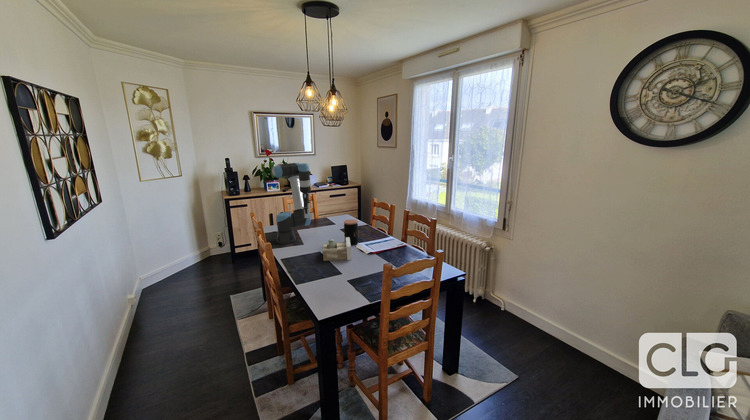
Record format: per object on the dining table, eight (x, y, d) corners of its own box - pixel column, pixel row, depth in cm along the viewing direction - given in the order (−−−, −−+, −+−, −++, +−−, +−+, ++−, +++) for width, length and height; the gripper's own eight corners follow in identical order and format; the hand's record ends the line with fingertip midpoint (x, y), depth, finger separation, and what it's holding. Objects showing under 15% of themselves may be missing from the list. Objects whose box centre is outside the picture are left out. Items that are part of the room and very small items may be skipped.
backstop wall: (346, 250, 214) (345, 237, 212) (350, 249, 215) (349, 237, 212) (347, 260, 197) (346, 246, 194) (351, 260, 197) (350, 246, 195)
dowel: (329, 252, 206) (328, 239, 203) (335, 252, 206) (334, 239, 204) (329, 255, 202) (328, 241, 199) (335, 254, 203) (334, 241, 200)
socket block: (324, 252, 210) (323, 243, 208) (346, 251, 212) (345, 242, 210) (323, 260, 197) (322, 251, 195) (347, 258, 199) (346, 249, 197)
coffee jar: (356, 246, 221) (355, 223, 216) (343, 245, 223) (341, 223, 219) (360, 241, 231) (359, 219, 227) (347, 240, 233) (346, 219, 229)
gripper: (300, 182, 214) (303, 210, 220) (297, 190, 190) (300, 220, 197) (311, 182, 215) (313, 209, 221) (309, 189, 192) (311, 220, 198)
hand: (307, 215), depth 209 cm, fingers open, 13 cm apart
